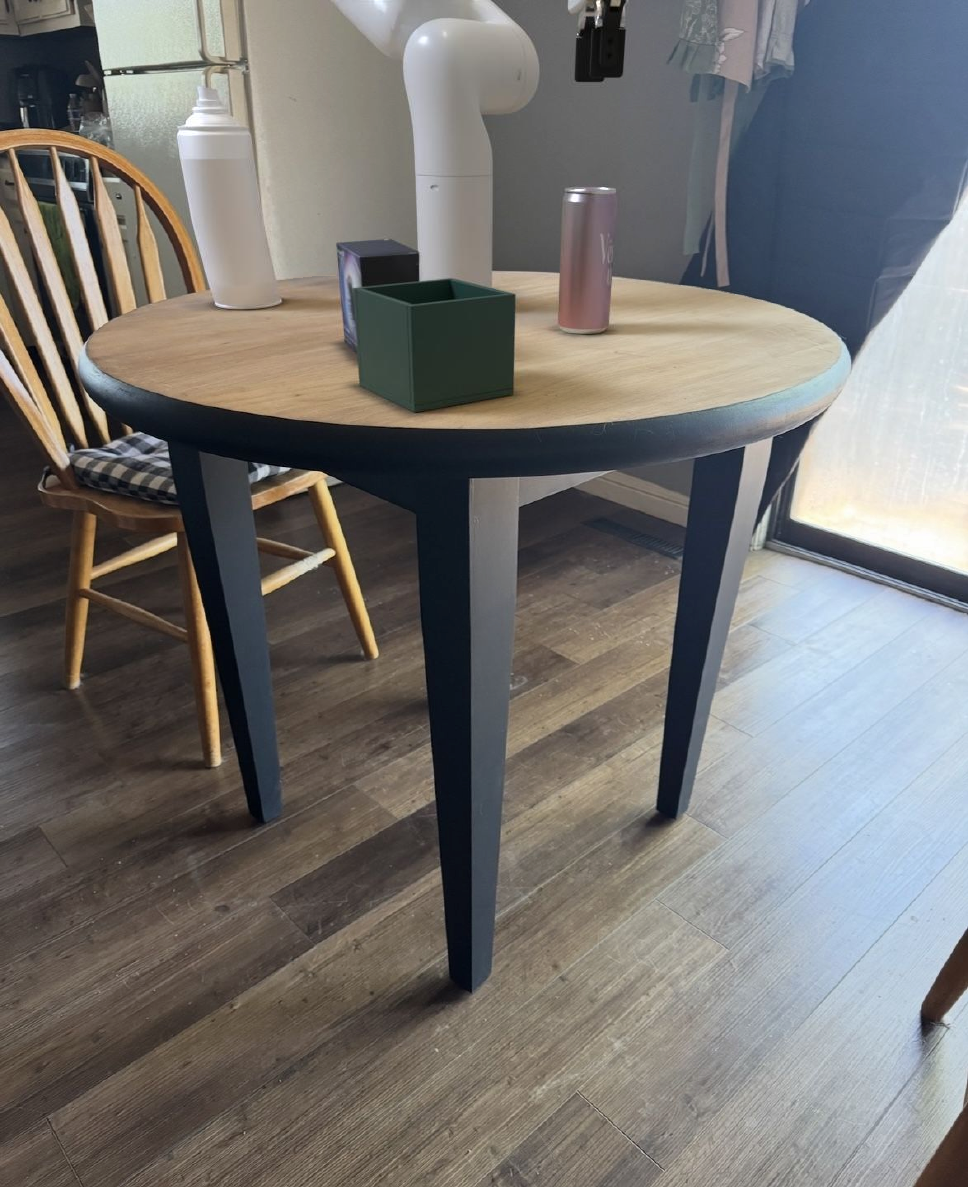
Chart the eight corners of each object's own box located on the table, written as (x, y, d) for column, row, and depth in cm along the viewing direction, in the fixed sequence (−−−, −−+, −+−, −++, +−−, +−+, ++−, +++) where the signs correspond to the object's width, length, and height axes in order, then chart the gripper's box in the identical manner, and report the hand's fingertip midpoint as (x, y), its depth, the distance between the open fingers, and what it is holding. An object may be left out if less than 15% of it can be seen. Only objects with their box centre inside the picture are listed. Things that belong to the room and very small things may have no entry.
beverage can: (576, 322, 106) (583, 186, 99) (618, 328, 103) (628, 188, 96) (547, 330, 102) (552, 188, 95) (590, 337, 99) (598, 191, 92)
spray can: (291, 310, 112) (269, 84, 100) (205, 316, 108) (172, 83, 96) (276, 295, 121) (253, 87, 109) (196, 300, 118) (164, 86, 106)
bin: (359, 385, 80) (352, 287, 76) (453, 370, 85) (451, 277, 81) (414, 412, 73) (410, 306, 69) (513, 394, 78) (515, 294, 74)
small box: (340, 343, 96) (332, 240, 91) (397, 338, 98) (393, 237, 93) (363, 365, 87) (356, 253, 82) (425, 360, 89) (422, 250, 84)
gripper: (556, -111, 89) (550, 83, 97) (583, -160, 74) (573, 75, 82) (629, -110, 90) (617, 83, 98) (671, -158, 74) (652, 76, 82)
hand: (597, 79), depth 90 cm, fingers open, 9 cm apart
